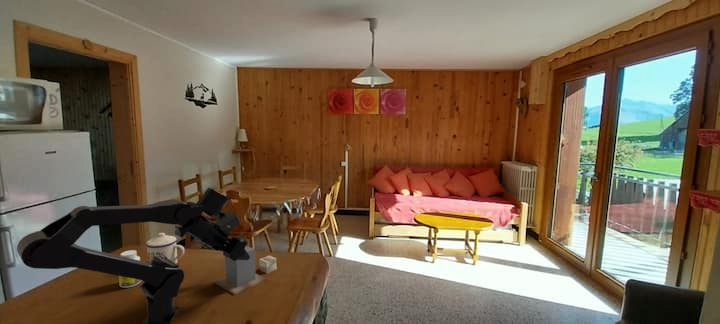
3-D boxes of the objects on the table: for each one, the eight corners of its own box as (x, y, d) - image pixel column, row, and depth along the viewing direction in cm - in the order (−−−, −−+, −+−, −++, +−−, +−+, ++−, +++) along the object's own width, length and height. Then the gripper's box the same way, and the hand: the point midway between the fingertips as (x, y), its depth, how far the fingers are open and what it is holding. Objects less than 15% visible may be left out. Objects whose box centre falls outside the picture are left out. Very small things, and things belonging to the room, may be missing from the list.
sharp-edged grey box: (237, 287, 93) (236, 256, 92) (225, 280, 97) (224, 250, 95) (255, 279, 98) (254, 249, 97) (244, 273, 102) (243, 244, 100)
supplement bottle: (118, 290, 91) (115, 258, 90) (120, 282, 96) (117, 251, 94) (141, 285, 94) (139, 253, 93) (142, 277, 99) (139, 247, 98)
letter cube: (266, 273, 103) (266, 262, 103) (259, 270, 105) (259, 259, 105) (276, 269, 106) (276, 258, 106) (269, 266, 109) (269, 255, 108)
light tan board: (234, 295, 90) (234, 293, 90) (215, 283, 96) (214, 281, 96) (266, 280, 99) (265, 278, 98) (246, 270, 105) (245, 268, 105)
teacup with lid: (141, 271, 103) (139, 238, 102) (158, 259, 112) (156, 228, 111) (177, 271, 104) (175, 238, 102) (191, 259, 113) (189, 229, 111)
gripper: (240, 212, 85) (273, 239, 95) (206, 201, 96) (239, 226, 106) (214, 248, 79) (252, 272, 89) (180, 232, 90) (218, 255, 100)
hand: (240, 254), depth 96 cm, fingers open, 9 cm apart
